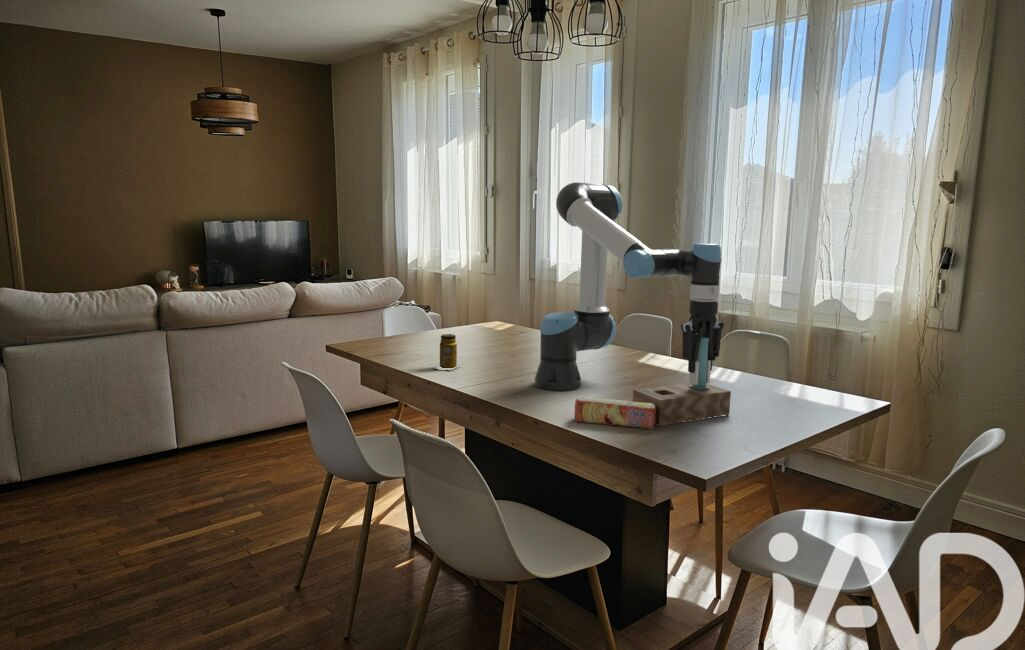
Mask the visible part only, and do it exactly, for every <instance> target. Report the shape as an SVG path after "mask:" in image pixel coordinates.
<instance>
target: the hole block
mask: <svg viewBox="0 0 1025 650" xmlns="http://www.w3.org/2000/svg"><path fill="white" fill-rule="evenodd" d="M692 386H693V384H691V383H689V382H688V383H678V384H669V385H662V386H655V387H654V386H652V387H645V388H636V389H635V388H634V389H633V391H632V392H633V394H632V402H641V403H652V404H654V405H655V407H656V422H655V423H656V424H658V425H663V426H666V425H665V424H670V425H672V424H671V423H677V422H683V421H689V420H697V419H702V418H708V417H714V416H721V415H728V414H729V415H730V409H731V407H730V406H731V392H732V391H731V390H727V389H725V388H721V387H719V386H715V385H712V384H710V383H708V384H707V383H706V390H703V391H696V390H693V389H692ZM697 421H698V420H697ZM656 424H655V425H656ZM677 424H678V423H677ZM658 425H657V426H658Z"/></svg>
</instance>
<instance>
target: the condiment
mask: <svg viewBox="0 0 1025 650" xmlns="http://www.w3.org/2000/svg"><path fill="white" fill-rule="evenodd" d="M456 337H457V336H456V335H455V334H452V333H451V334H450V333H449V334H448V333H446V334H441V335H440V343H439V366H440V367H442V368H454V367H456V366H457V362H458V361H457V358H458V357H457V355H458V352H457V351H458V349H457V347H458V345H457V342H456V340H457V339H456Z"/></svg>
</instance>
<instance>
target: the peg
mask: <svg viewBox="0 0 1025 650" xmlns="http://www.w3.org/2000/svg"><path fill="white" fill-rule="evenodd" d="M708 342H709V338H708V337H702V338H701V341H700V346H699V351H698V356H697V360H696V361H698V362H699V369H698V385H694V384H693V386H692V389H693V390H696V391H703V390H706V375H707V358H708Z"/></svg>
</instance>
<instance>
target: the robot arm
mask: <svg viewBox="0 0 1025 650" xmlns="http://www.w3.org/2000/svg"><path fill="white" fill-rule="evenodd" d="M555 202H556V203H555V206H556V210H557V213H558V215H559V216H560V217H561V219H562V220H563V221H565V222H566V223H567V224H568V225H570V226H572V227H577V228H579V230H581V247H580V248H581V249H580V251H581V253H580V254H581V255H580V275H579V276H580V277H579V278H580V279H579V300H578V304H577V305H576V306H575V307H574V311H559V312H557V311H556V312H551V313H548V314H546V315H544V316H543V317H542V319H541V322H540V329H539V333H540V357H539V358H540V359H539V360H540V362H539V364H538V367H537V370H536V373H535V376H534V379H533V380H534V382H533V383H534V386H535V387H537V388H539V389H542V390H548V391H560V392H561V391H573V390H577V389H579V388H581V387H582V378H581V375H580V371H579V368H578V364H577V352H583V351H589V350H599V349H602V348H606V347H608V346H609V345H610V344H611V343H613V340H614V339H615V337H616V334H617V324H616V321H614V320H615V319H614V318H613V315H611V314H610V311H611V310H610V308H609V307H607V305H606V297H607V296H606V293H607V278H608V277H607V273H608V272H607V271H608V253H610V254H612V255H613V256H615V257H616V258H617V259H618V260H620V261H621V262H622V264H623V269H624V270H625V273H626V274H627V276H629V277H631V278H638V279H646V278H656V277H658V278H659V277H660V278H661V277H675V276H676V277H688V278H690V290H689V291H690V292H689V293H690V294H689V298H690V299H691V300H690V301H689V308H688V309H689V314H690V318H689V319H688V322H686V323H681V325H680V328H681V331H682V359H684V360H687V361H688V364H687V365H688V366H687V371H688V372H689V377H688V378H689V379H688V383H691V384H694V385H698V369H699V362H698V361H696V360H697V356H698V351H699V346H700V341H701V338H702V337H708V338H709V342H708V358H707V375H706V383H707V384H710V383H711V382H710V381H711V372H712V370H713V361H715V360H716V359H717V358H719V356H720V351H721V349H720V347H721V340H722V331H723V329H724V325H725V323H724V322H722V321H718V319H717V317H716V315H717V314H718V310H719V302H718V301H717V300H718V299H719V296H720V295H719V292H720V276H721V275H720V274H721V264H722V247H721V246H720V244H719V243H705V242H696V243H694V244H692V249H680V248H674V247H671V248H670V247H669V248H663V249H652V248H649V247H648V246H647V245H645V244H644V243H643V242H641V241H640V240H639V239H637V238H636V237H635V236H633V235H632V234H631V233H630V232H628V231H626V229H624V228H623V227H622V226H620V225H619V224H617V223H616V222H615V221H616V220H617V219H618V218H619V217H620V215H621V214H622V211H623V199H622V196H621V194H620V191H618V189H617V188H616V187H614V186H613V185H611V184H605V183H597V182H596V183H595V182H593V183H591V182H571V183H568V184H567V185H565V186H564V187H562V188H561V189H560V190H559V192H558V194H557V197H556V201H555Z"/></svg>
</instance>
